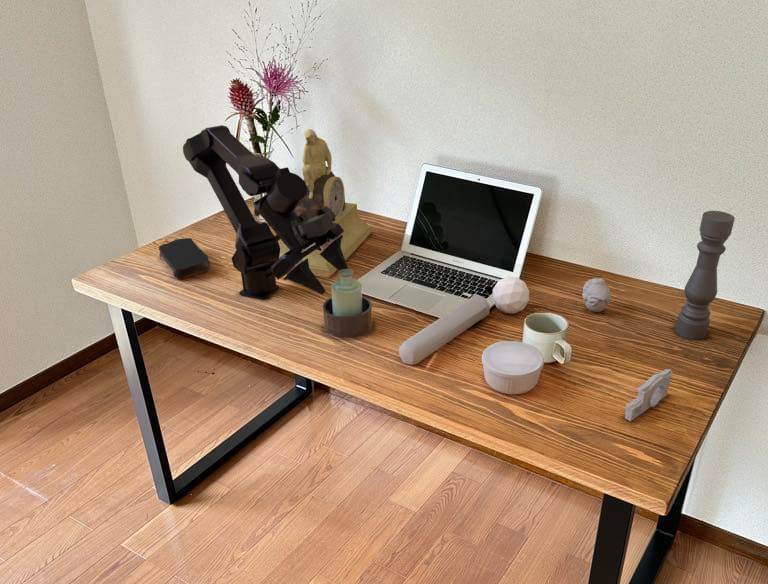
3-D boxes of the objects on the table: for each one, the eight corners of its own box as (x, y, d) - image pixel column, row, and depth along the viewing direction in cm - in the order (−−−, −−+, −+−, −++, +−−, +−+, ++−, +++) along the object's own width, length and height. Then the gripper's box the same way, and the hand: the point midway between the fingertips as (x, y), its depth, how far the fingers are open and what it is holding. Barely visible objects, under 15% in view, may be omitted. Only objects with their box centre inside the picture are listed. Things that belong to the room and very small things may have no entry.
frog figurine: (600, 301, 160) (605, 272, 156) (614, 316, 154) (619, 286, 151) (574, 303, 159) (578, 274, 155) (588, 319, 153) (592, 289, 149)
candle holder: (706, 327, 151) (736, 212, 138) (706, 341, 146) (736, 224, 133) (675, 322, 153) (701, 208, 139) (674, 336, 148) (701, 219, 134)
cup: (315, 333, 146) (314, 312, 144) (337, 311, 154) (336, 290, 151) (360, 343, 144) (359, 321, 141) (379, 320, 151) (379, 299, 149)
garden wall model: (630, 423, 123) (636, 394, 120) (621, 418, 124) (627, 390, 121) (668, 395, 130) (675, 368, 127) (660, 391, 131) (666, 363, 128)
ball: (517, 320, 158) (543, 297, 154) (497, 321, 152) (523, 296, 147) (499, 293, 160) (524, 269, 156) (478, 292, 154) (503, 268, 150)
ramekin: (498, 404, 127) (500, 379, 124) (469, 371, 136) (471, 347, 133) (553, 390, 131) (556, 366, 128) (522, 359, 139) (524, 335, 137)
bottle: (328, 329, 147) (324, 275, 141) (341, 315, 152) (338, 263, 145) (355, 334, 145) (353, 280, 139) (367, 321, 150) (365, 268, 144)
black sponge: (214, 274, 168) (211, 260, 166) (177, 282, 164) (174, 268, 162) (192, 249, 180) (190, 235, 178) (157, 257, 176) (154, 243, 174)
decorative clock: (328, 278, 167) (320, 148, 151) (277, 271, 170) (264, 142, 154) (370, 233, 190) (367, 115, 174) (325, 227, 193) (317, 111, 177)
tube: (418, 355, 133) (493, 304, 149) (396, 338, 134) (473, 289, 151) (411, 375, 136) (485, 322, 153) (390, 358, 138) (466, 308, 155)
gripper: (278, 214, 130) (334, 282, 132) (333, 183, 145) (383, 245, 147) (247, 246, 137) (301, 311, 139) (303, 214, 152) (351, 273, 154)
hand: (336, 283), depth 145 cm, fingers open, 9 cm apart
